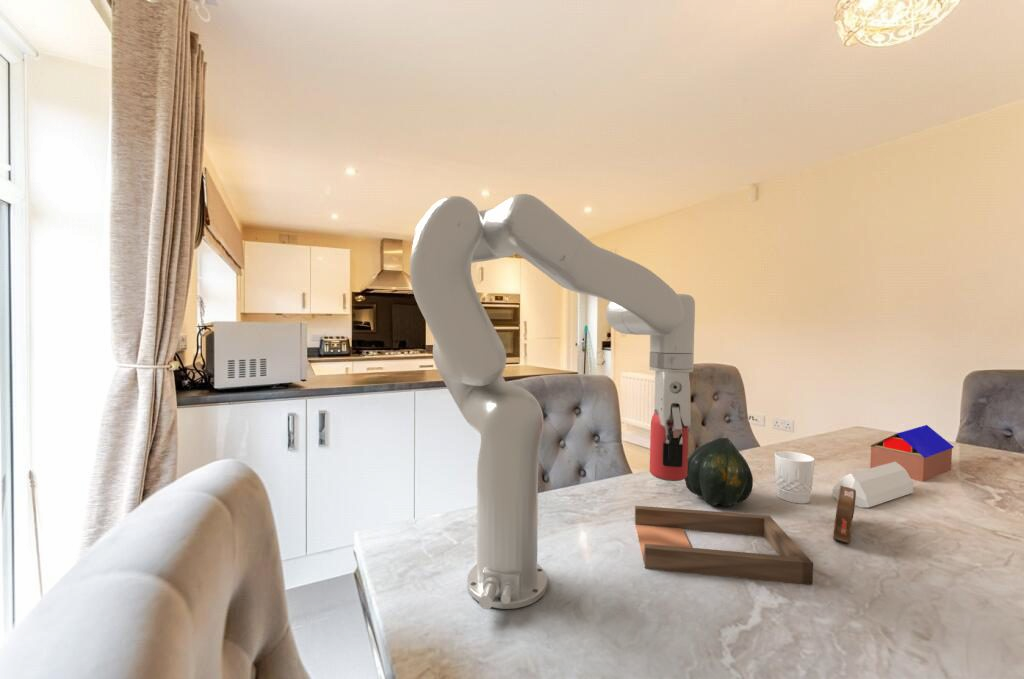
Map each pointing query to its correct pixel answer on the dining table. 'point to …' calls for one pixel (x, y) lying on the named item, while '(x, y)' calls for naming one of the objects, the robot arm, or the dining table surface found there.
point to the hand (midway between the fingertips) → (668, 458)
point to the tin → (844, 514)
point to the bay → (674, 553)
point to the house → (914, 453)
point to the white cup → (794, 476)
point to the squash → (719, 473)
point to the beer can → (657, 452)
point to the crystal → (877, 484)
